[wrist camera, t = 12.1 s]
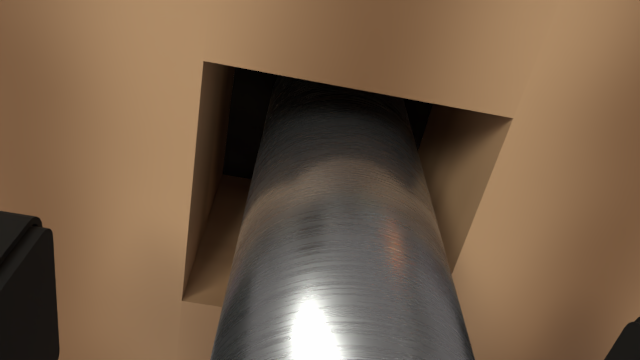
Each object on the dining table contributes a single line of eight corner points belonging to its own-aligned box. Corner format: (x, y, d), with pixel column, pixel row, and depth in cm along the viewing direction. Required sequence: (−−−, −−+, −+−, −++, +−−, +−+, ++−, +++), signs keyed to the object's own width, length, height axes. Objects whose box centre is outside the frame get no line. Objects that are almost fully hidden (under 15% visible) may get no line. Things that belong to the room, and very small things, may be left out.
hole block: (787, -114, 14) (1041, -86, 9) (543, 340, 22) (607, 491, 17) (-43, -303, 13) (-294, -397, 8) (14, 259, 21) (-90, 398, 16)
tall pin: (417, 56, 17) (555, 406, 6) (384, 173, 19) (449, 583, 9) (281, 30, 16) (197, 354, 6) (262, 152, 19) (175, 551, 8)
